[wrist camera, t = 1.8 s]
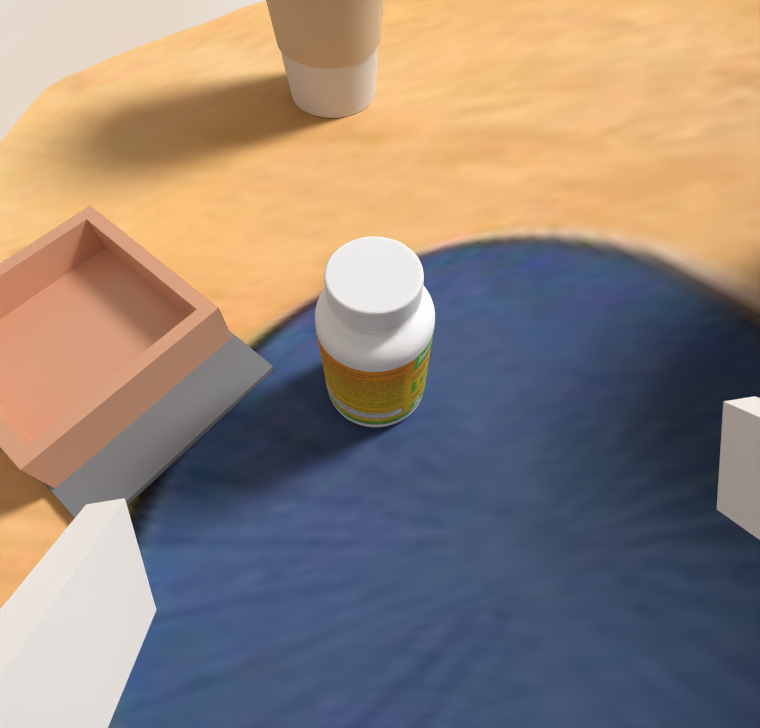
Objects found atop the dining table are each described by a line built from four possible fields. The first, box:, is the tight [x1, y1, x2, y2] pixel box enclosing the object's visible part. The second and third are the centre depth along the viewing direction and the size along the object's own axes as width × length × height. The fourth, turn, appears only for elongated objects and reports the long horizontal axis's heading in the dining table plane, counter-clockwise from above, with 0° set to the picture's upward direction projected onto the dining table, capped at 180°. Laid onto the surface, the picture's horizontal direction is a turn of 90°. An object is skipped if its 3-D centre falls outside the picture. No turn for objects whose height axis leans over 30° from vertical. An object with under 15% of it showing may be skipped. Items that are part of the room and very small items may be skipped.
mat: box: [45, 331, 274, 518], centre depth 30 cm, size 16×12×1 cm
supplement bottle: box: [315, 237, 435, 427], centre depth 25 cm, size 5×5×10 cm
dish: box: [0, 206, 232, 488], centre depth 29 cm, size 12×12×3 cm
